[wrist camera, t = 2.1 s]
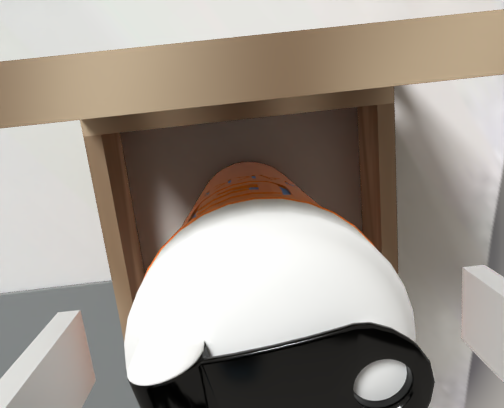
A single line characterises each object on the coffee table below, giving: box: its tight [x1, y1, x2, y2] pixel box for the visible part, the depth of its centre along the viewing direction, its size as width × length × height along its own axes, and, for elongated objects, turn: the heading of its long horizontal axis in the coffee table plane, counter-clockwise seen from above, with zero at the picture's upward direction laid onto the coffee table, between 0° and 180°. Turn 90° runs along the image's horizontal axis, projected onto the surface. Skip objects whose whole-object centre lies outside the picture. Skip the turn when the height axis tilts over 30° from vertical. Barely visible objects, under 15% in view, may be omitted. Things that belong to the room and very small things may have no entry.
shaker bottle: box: [124, 162, 435, 408], centre depth 20 cm, size 9×9×20 cm
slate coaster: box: [0, 281, 140, 408], centre depth 31 cm, size 13×13×1 cm
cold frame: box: [0, 9, 504, 340], centre depth 19 cm, size 19×17×20 cm
